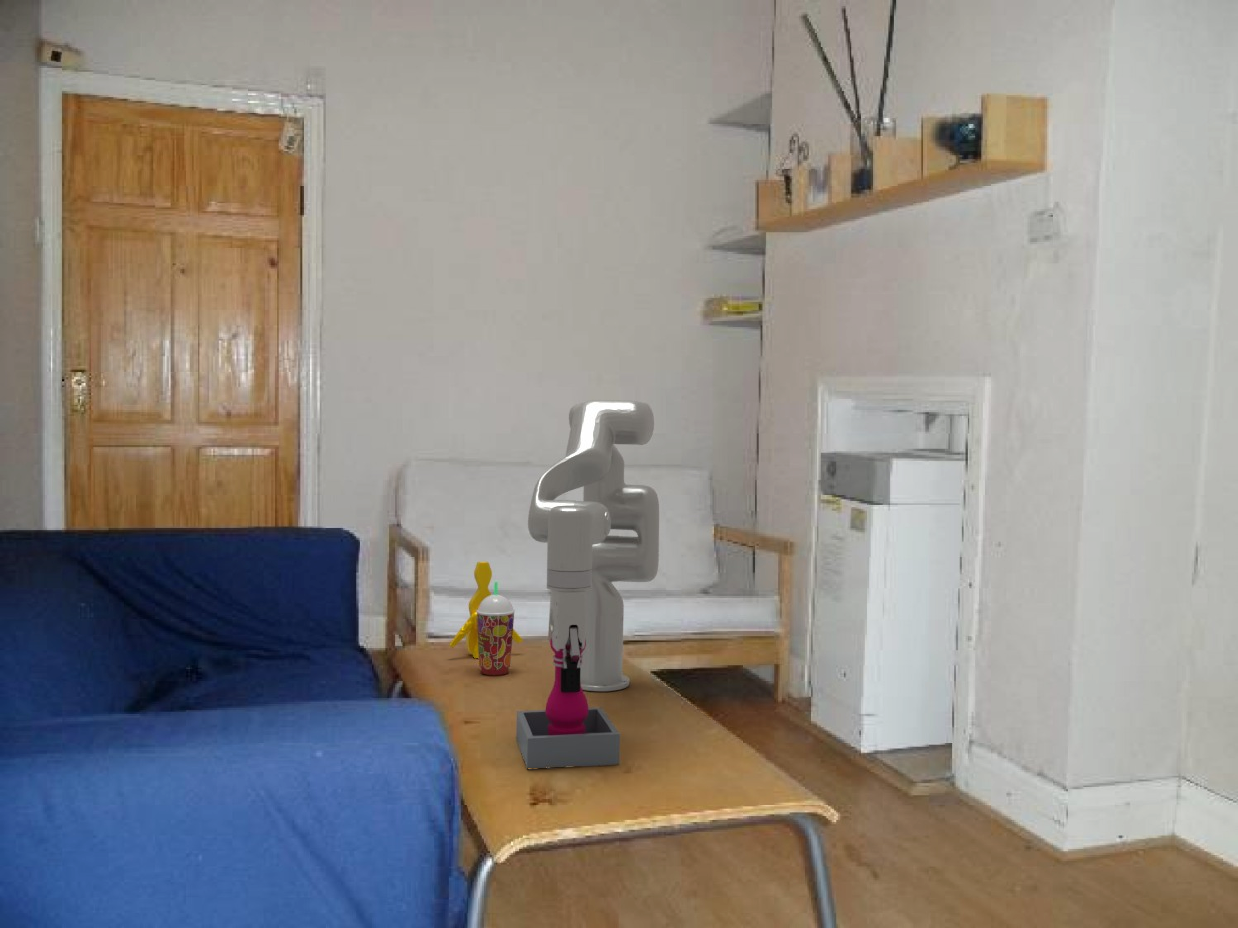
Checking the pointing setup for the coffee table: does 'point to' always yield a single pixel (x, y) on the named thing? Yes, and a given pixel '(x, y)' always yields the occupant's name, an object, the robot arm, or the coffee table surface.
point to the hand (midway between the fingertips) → (567, 686)
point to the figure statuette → (470, 627)
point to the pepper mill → (565, 703)
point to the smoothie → (495, 633)
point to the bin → (567, 741)
